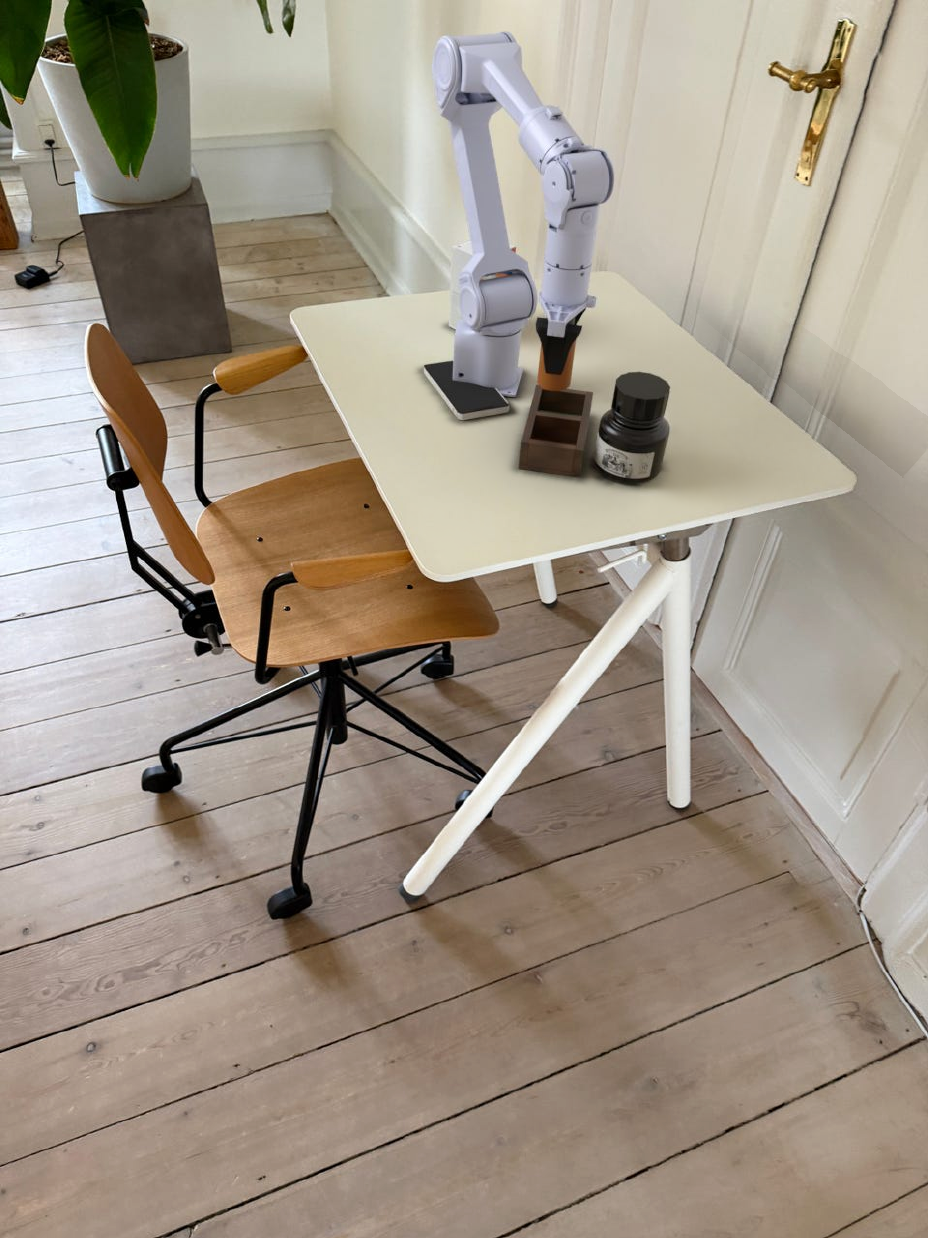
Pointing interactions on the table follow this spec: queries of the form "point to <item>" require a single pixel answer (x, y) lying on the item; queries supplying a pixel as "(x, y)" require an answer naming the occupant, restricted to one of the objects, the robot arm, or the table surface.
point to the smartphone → (465, 393)
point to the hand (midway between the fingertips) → (555, 363)
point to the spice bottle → (557, 381)
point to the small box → (458, 262)
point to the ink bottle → (634, 429)
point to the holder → (556, 431)
